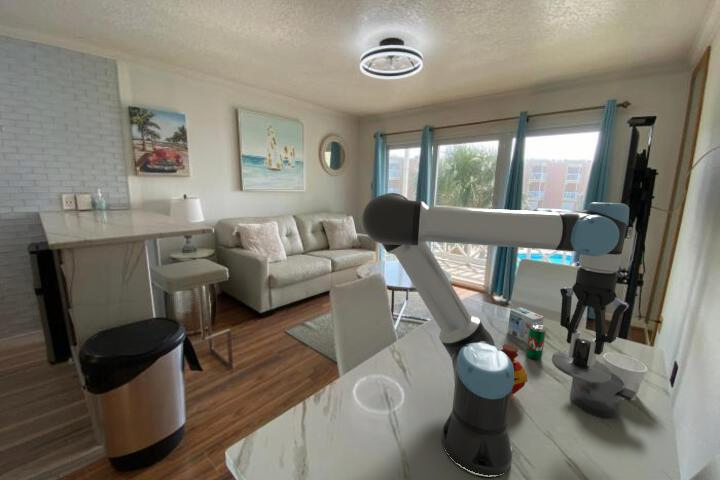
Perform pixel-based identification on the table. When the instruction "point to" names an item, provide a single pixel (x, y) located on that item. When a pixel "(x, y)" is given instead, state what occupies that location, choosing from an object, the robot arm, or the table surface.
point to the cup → (626, 370)
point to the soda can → (535, 341)
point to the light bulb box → (522, 322)
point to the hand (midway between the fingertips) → (581, 360)
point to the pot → (600, 396)
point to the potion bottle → (515, 368)
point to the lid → (581, 364)
